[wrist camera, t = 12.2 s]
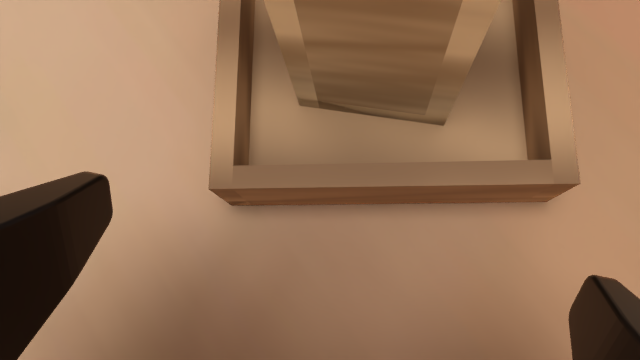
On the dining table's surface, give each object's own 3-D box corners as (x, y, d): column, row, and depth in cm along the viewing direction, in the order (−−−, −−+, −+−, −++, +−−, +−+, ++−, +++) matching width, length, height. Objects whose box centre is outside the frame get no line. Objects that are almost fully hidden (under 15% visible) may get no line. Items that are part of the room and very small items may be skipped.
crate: (546, 201, 18) (580, 183, 16) (231, 205, 20) (208, 188, 17) (517, -73, 21) (542, -131, 18) (244, -57, 22) (226, -110, 19)
